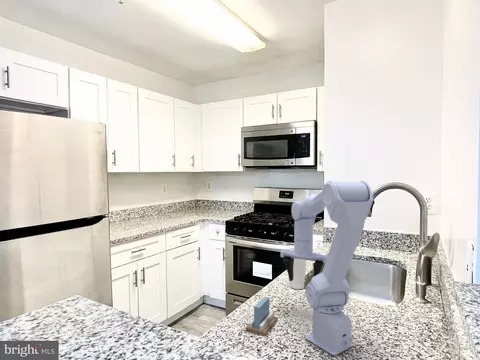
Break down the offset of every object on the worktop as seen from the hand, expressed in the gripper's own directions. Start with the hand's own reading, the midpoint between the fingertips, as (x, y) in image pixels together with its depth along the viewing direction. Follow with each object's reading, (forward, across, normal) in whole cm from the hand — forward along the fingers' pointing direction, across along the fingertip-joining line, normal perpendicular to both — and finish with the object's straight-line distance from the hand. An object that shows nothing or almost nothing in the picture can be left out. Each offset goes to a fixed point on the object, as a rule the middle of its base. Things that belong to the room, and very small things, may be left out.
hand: (303, 282), depth 92 cm
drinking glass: (+11, +8, -23) cm, 26 cm away
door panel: (+9, +9, +12) cm, 18 cm away
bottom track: (+10, +9, +12) cm, 18 cm away
